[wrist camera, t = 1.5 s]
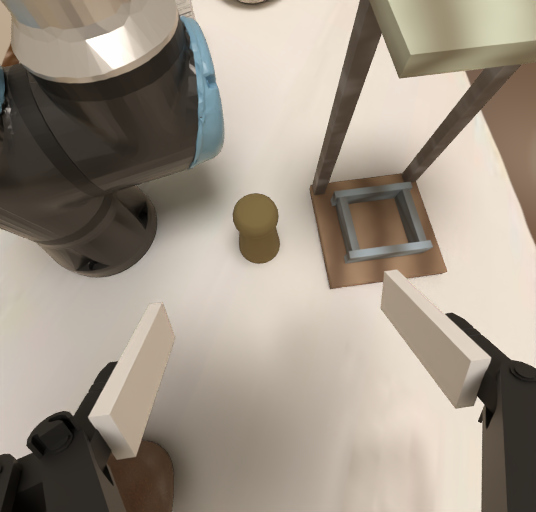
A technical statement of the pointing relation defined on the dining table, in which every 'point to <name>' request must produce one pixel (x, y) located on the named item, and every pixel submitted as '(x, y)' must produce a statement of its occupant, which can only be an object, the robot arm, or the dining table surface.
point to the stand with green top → (404, 185)
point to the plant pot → (145, 479)
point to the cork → (257, 227)
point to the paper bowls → (251, 1)
